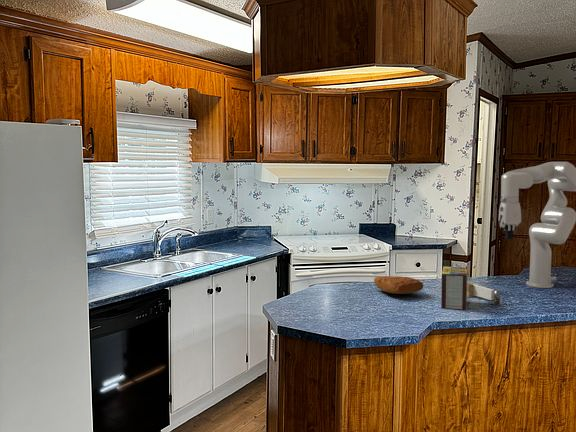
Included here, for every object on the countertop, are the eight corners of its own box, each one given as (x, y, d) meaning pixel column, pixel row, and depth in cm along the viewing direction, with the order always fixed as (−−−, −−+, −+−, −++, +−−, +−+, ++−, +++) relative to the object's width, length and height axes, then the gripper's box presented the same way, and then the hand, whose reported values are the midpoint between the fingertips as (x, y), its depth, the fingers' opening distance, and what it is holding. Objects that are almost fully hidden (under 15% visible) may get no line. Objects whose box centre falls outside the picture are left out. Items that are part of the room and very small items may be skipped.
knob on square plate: (496, 301, 231) (497, 288, 231) (505, 304, 227) (506, 291, 226) (488, 303, 229) (488, 289, 229) (497, 305, 225) (497, 292, 224)
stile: (468, 295, 243) (468, 282, 242) (472, 296, 240) (473, 284, 239) (463, 295, 242) (464, 283, 241) (468, 297, 239) (468, 284, 238)
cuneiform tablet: (425, 297, 240) (426, 280, 239) (393, 301, 234) (394, 283, 233) (400, 286, 261) (400, 271, 260) (370, 289, 255) (370, 273, 254)
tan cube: (467, 289, 254) (467, 281, 254) (474, 291, 250) (474, 283, 250) (460, 290, 253) (460, 282, 252) (466, 292, 249) (467, 284, 248)
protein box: (466, 301, 233) (467, 267, 231) (466, 310, 218) (467, 274, 217) (442, 299, 236) (443, 266, 235) (440, 308, 222) (441, 273, 220)
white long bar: (494, 301, 231) (494, 290, 230) (491, 302, 230) (491, 290, 230) (471, 294, 244) (471, 283, 243) (468, 294, 243) (468, 283, 242)
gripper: (504, 201, 235) (503, 241, 237) (528, 199, 241) (527, 238, 243) (491, 200, 242) (491, 239, 244) (515, 198, 248) (514, 236, 250)
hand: (509, 238), depth 244 cm, fingers closed
